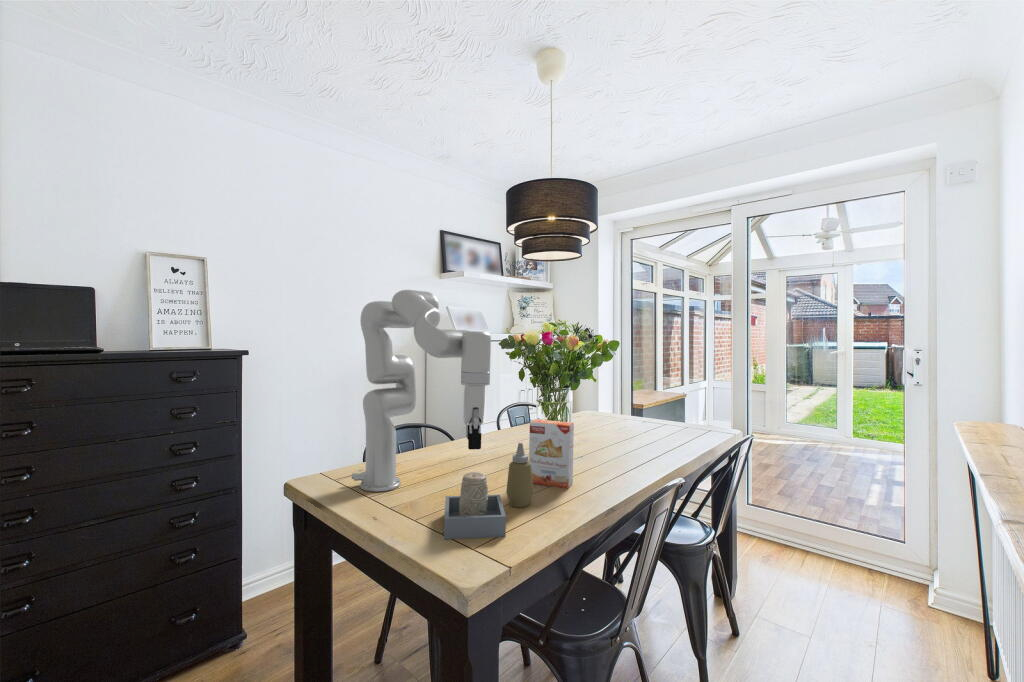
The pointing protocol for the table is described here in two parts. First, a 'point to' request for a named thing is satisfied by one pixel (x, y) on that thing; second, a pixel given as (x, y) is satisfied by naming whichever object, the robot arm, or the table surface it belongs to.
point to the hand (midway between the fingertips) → (473, 444)
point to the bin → (474, 520)
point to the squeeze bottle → (520, 479)
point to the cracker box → (551, 452)
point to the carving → (473, 495)
